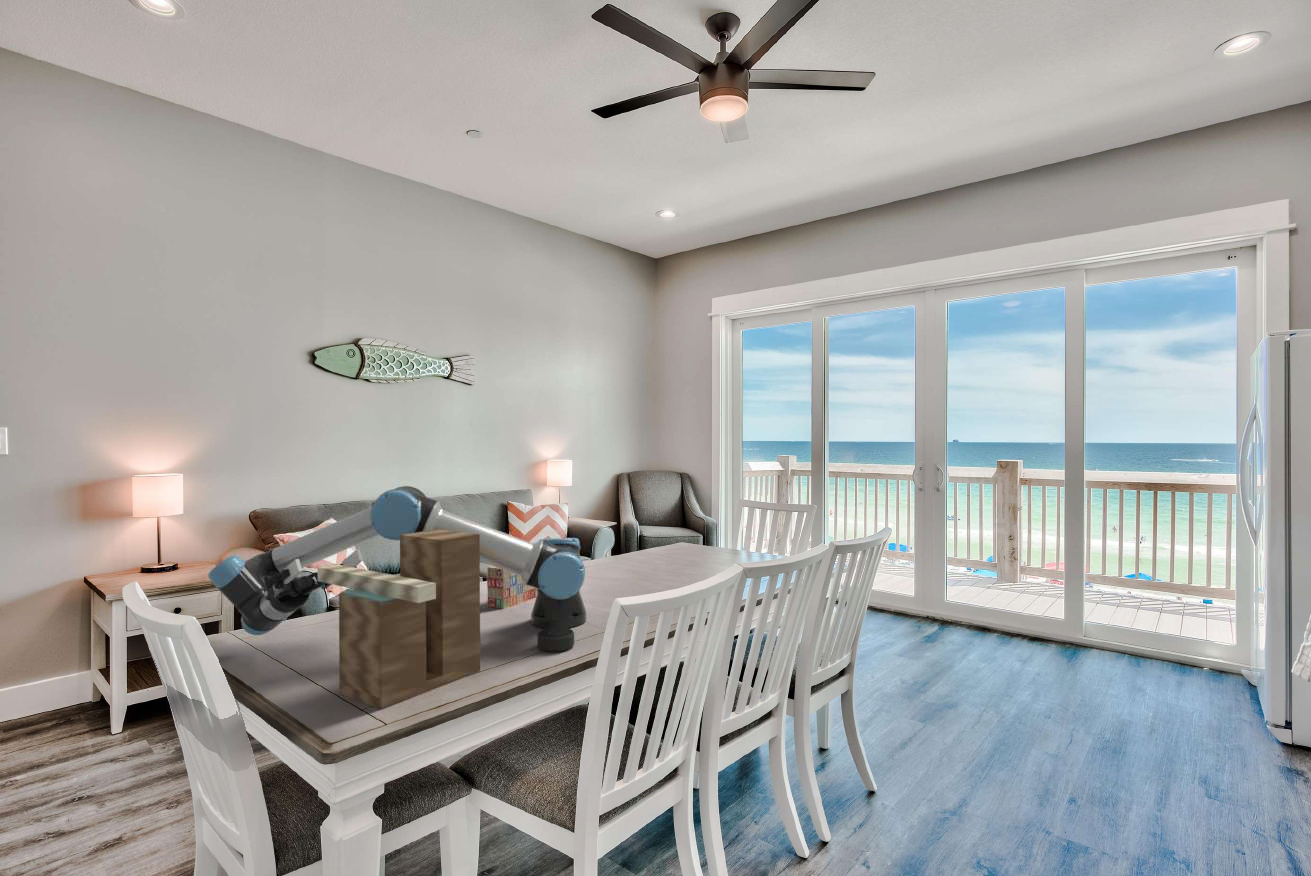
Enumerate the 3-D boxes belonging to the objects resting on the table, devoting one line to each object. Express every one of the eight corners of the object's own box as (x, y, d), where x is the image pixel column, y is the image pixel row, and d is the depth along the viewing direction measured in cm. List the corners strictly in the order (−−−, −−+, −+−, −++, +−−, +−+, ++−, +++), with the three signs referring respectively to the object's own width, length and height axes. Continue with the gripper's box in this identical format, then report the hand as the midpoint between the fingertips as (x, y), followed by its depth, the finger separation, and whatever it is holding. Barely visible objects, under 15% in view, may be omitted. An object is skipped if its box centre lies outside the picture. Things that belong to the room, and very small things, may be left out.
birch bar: (317, 581, 141) (317, 567, 141) (335, 577, 144) (335, 563, 144) (418, 603, 122) (417, 586, 122) (435, 598, 126) (435, 582, 126)
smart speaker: (532, 645, 161) (532, 629, 161) (566, 639, 166) (566, 623, 166) (545, 656, 154) (545, 638, 154) (580, 649, 158) (580, 633, 158)
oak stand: (339, 693, 131) (338, 543, 131) (438, 658, 151) (437, 529, 151) (381, 709, 124) (380, 550, 124) (480, 670, 144) (479, 534, 144)
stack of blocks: (531, 591, 216) (531, 554, 216) (547, 593, 213) (547, 556, 213) (487, 607, 197) (486, 566, 197) (503, 609, 194) (503, 568, 194)
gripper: (341, 601, 160) (387, 565, 150) (230, 626, 139) (275, 587, 129) (332, 572, 162) (377, 536, 152) (221, 593, 141) (265, 552, 131)
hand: (330, 559), depth 141 cm, fingers open, 13 cm apart
